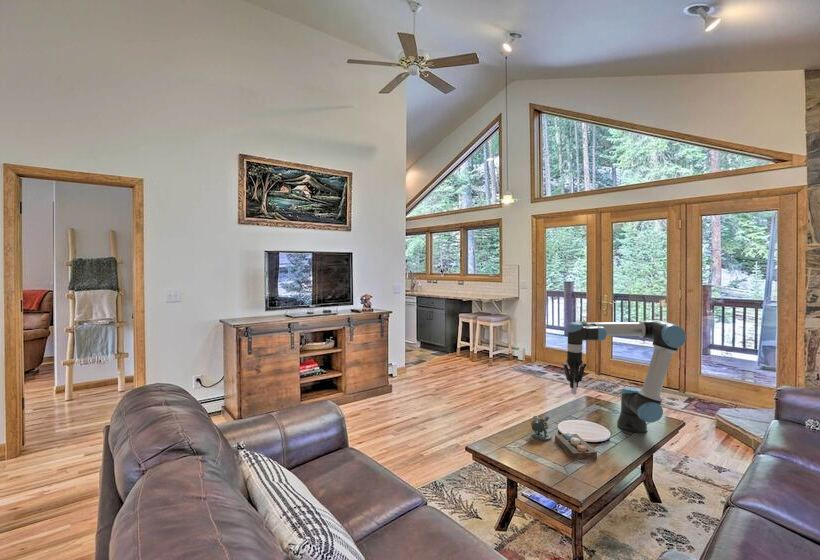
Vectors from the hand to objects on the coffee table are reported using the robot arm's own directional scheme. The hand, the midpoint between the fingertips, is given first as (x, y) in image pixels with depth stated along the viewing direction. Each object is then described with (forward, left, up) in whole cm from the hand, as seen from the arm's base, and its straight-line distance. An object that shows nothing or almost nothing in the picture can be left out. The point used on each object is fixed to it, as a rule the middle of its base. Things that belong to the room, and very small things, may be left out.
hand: (573, 393), depth 219 cm
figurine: (+17, -2, -25) cm, 30 cm away
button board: (+6, +14, -24) cm, 29 cm away
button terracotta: (+6, +20, -23) cm, 31 cm away
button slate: (+6, +7, -23) cm, 25 cm away
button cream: (+6, +14, -22) cm, 27 cm away
